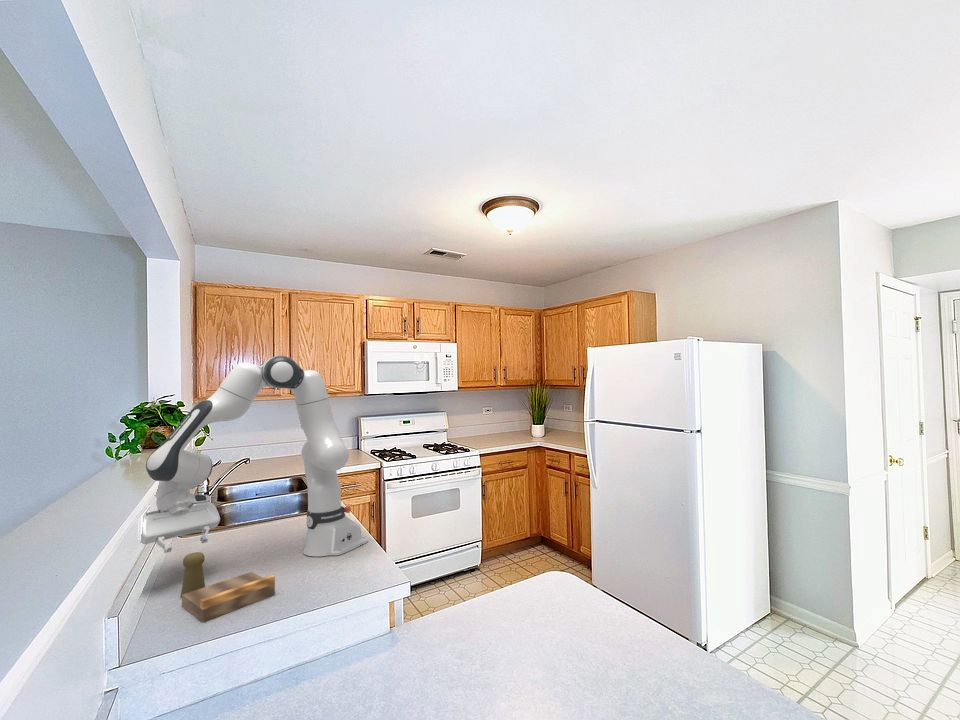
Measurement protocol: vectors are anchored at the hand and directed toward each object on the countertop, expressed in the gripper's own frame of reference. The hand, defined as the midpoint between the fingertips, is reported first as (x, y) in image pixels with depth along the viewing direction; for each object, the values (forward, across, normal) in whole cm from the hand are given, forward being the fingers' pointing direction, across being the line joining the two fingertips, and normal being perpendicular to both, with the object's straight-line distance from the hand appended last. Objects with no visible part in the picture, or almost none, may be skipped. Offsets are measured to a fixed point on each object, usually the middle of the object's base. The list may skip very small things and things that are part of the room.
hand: (187, 546), depth 130 cm
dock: (+22, +4, -5) cm, 23 cm away
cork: (+13, 0, +4) cm, 13 cm away
